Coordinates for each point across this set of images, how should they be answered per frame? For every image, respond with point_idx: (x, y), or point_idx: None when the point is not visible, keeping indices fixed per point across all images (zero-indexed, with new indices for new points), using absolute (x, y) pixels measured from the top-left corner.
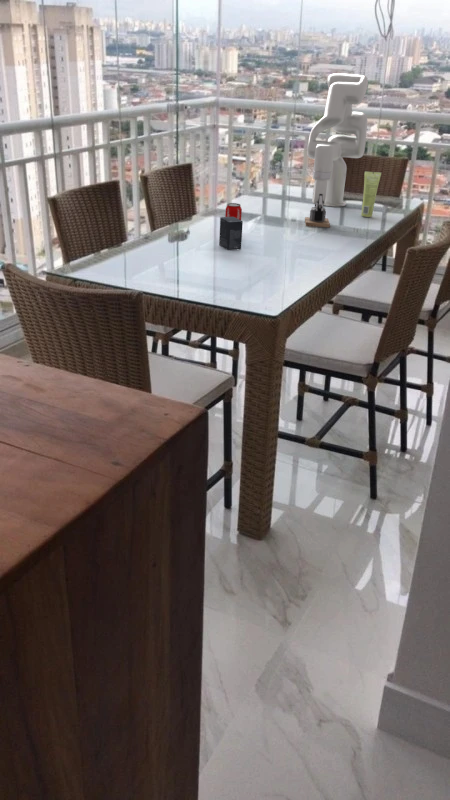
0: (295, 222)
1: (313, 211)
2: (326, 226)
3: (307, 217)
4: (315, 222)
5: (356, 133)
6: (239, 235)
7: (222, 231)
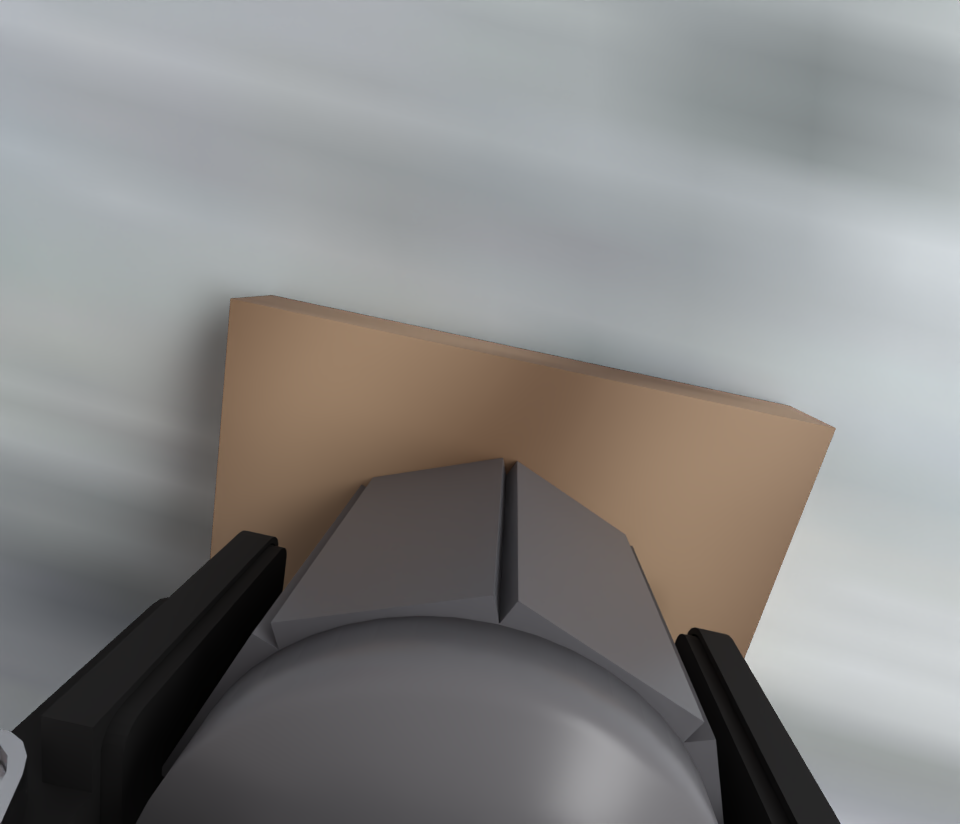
0: (616, 116)
1: (276, 657)
2: None
3: (785, 480)
4: (264, 529)
5: None
6: None
7: None
